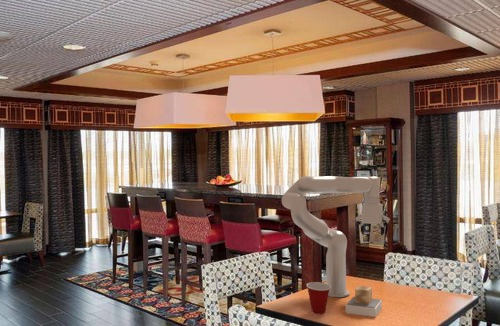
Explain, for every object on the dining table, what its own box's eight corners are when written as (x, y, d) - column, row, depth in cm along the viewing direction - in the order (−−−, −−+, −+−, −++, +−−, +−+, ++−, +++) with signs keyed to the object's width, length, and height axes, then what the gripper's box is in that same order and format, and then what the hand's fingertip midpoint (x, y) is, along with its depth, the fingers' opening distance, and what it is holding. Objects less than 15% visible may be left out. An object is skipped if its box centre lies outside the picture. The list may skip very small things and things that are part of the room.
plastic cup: (325, 317, 205) (325, 289, 205) (302, 313, 210) (302, 286, 210) (335, 310, 214) (334, 283, 214) (313, 306, 220) (312, 280, 220)
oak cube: (355, 302, 212) (355, 289, 211) (358, 299, 217) (358, 285, 217) (368, 304, 209) (368, 290, 209) (372, 300, 214) (371, 287, 214)
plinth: (345, 313, 210) (345, 304, 210) (353, 304, 222) (353, 296, 222) (375, 317, 204) (375, 307, 204) (381, 308, 216) (381, 299, 216)
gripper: (353, 201, 246) (353, 234, 246) (387, 201, 238) (388, 236, 239) (356, 199, 253) (357, 232, 253) (390, 200, 245) (391, 234, 245)
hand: (372, 234), depth 246 cm, fingers open, 9 cm apart
